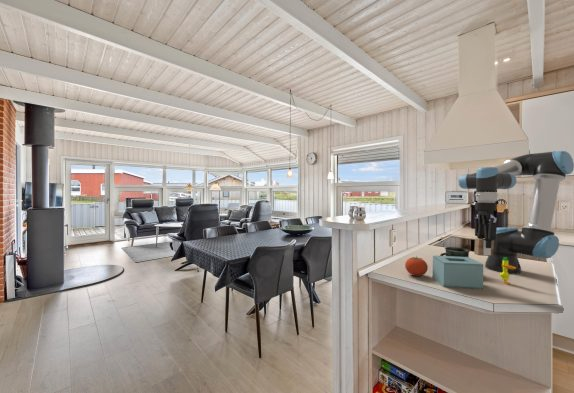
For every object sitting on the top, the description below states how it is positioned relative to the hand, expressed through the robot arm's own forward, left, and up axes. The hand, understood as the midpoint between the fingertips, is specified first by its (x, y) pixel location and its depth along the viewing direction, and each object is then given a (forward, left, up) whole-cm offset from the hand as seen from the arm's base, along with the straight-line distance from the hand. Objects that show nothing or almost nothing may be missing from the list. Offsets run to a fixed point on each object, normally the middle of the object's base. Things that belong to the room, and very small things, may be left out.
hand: (484, 253), depth 115 cm
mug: (+3, -21, -15) cm, 26 cm away
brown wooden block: (0, 0, 0) cm, 1 cm away
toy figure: (-13, -6, -15) cm, 21 cm away
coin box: (+10, -3, -15) cm, 18 cm away
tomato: (+25, -11, -15) cm, 31 cm away
